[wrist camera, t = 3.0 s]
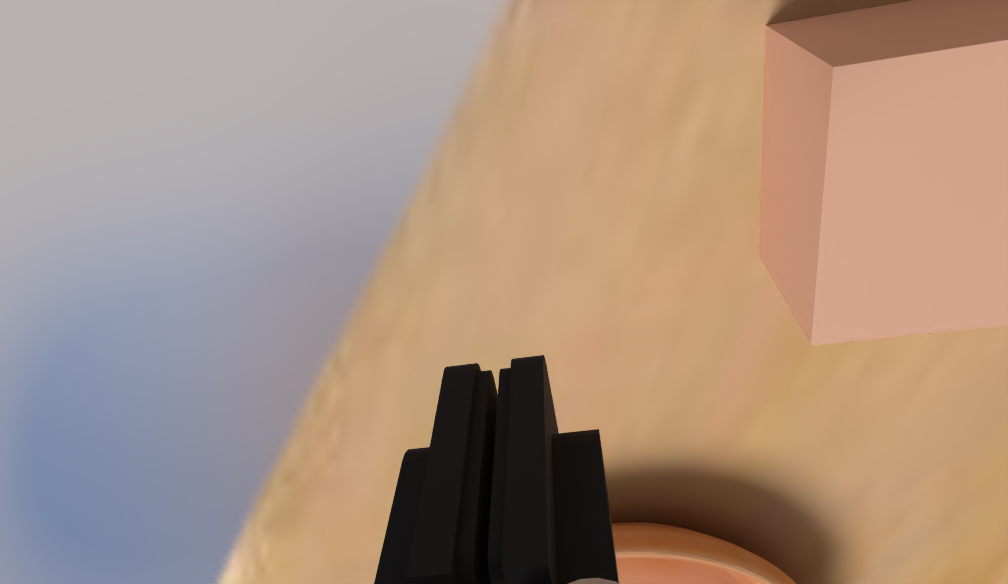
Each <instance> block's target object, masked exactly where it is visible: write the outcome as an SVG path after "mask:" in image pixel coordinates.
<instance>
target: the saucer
mask: <svg viewBox="0 0 1008 584" xmlns="http://www.w3.org/2000/svg"><path fill="white" fill-rule="evenodd" d="M611 524H612V531H613V539H614V547H615V555H616V563H617V571H618V578H619V584H796V583H795V582H794V581H793V580H792V579H791V578H790V577H789V576H788V575H786V574H785V573H784V572H783V571H781V570H780V569H779V568H777V567H776V566H774V565H773V564H771V563H770V562H768V561H767V560H765V559H763V558H761V557H759V556H758V555H756V554H753V553H751V552H749V551H747V550H745V549H743V548H741V547H739V546H737V545H735V544H733V543H730V542H727V541H725V540H722V539H719V538H716V537H713V536H710V535H706V534H703V533H700V532H697V531H694V530H690V529H686V528H682V527H678V526H672V525H666V524H658V523H646V522H625V523H611Z"/></svg>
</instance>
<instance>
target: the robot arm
mask: <svg viewBox="0 0 1008 584" xmlns="http://www.w3.org/2000/svg"><path fill="white" fill-rule="evenodd" d="M374 584H619V578H618V571H617V563H616V555H615V547H614V539H613V531H612V524H611V516H610V508H609V500H608V493H607V485H606V478H605V470H604V463H603V455H602V448H601V441H600V434H599V429H597V430H588V431H578V432H569V433H558V427H557V422H556V416H555V411H554V405H553V399H552V394H551V388H550V383H549V377H548V372H547V366H546V361H545V357H544V355H541V356H533V357H525V358H516V359H512V360H511V368H506V369H500V373H499V388H498V394H497V390H496V386H495V381H494V377H493V374H492V371H491V370H489V371H481V369H480V366H479V364H477V363H475V364H467V365H459V366H450V367H446V368H445V369H444V373H443V378H442V384H441V389H440V394H439V400H438V405H437V411H436V416H435V421H434V427H433V432H432V438H431V443H430V447H428V448H418V449H409V450H407V451H406V453H405V455H404V458H403V461H402V465H401V469H400V473H399V478H398V482H397V487H396V491H395V495H394V500H393V504H392V508H391V513H390V517H389V521H388V526H387V530H386V535H385V539H384V543H383V548H382V552H381V556H380V561H379V565H378V569H377V574H376V578H375V583H374Z"/></svg>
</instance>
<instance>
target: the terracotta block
mask: <svg viewBox="0 0 1008 584" xmlns="http://www.w3.org/2000/svg"><path fill="white" fill-rule="evenodd" d="M759 256H760V258H761V260H762V262H763V263H764V265H765V267H766V268H767V270H768V272H769V274H770V275H771V277H772V279H773V280H774V282H775V284H776V286H777V287H778V289H779V291H780V293H781V294H782V296H783V298H784V299H785V301H786V303H787V305H788V306H789V308H790V310H791V312H792V313H793V315H794V317H795V318H796V320H797V322H798V324H799V325H800V327H801V329H802V331H803V332H804V334H805V336H806V337H807V339H808V341H809V343H810V344H811V345H819V344H828V343H838V342H848V341H858V340H867V339H877V338H887V337H897V336H906V335H916V334H926V333H936V332H945V331H955V330H965V329H975V328H984V327H994V326H1004V325H1008V0H913V1H907V2H901V3H895V4H889V5H883V6H877V7H871V8H865V9H859V10H853V11H847V12H841V13H835V14H829V15H823V16H818V17H812V18H806V19H800V20H794V21H788V22H782V23H776V24H770V25H766V32H765V68H764V104H763V139H762V175H761V210H760V246H759Z"/></svg>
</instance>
